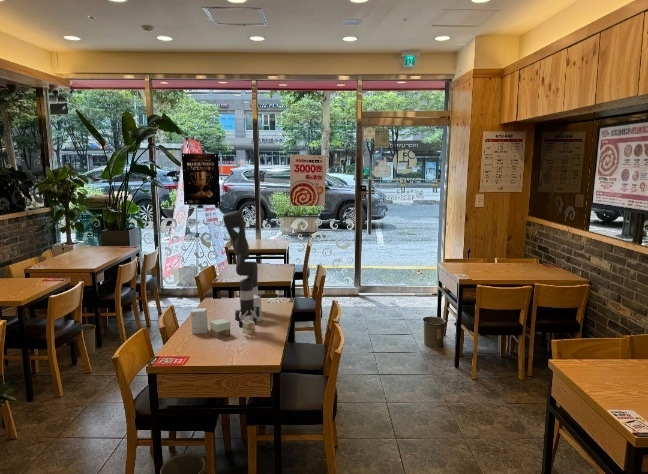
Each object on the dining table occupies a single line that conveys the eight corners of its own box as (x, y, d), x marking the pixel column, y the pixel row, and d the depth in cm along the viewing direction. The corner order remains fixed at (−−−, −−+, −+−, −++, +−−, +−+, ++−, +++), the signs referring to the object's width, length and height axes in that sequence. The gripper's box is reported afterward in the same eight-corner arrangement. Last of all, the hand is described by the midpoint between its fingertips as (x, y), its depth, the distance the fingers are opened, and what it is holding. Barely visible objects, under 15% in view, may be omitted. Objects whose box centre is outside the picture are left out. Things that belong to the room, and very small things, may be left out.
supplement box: (262, 320, 277) (261, 296, 275) (249, 323, 271) (248, 299, 269) (255, 317, 284) (254, 294, 282) (242, 320, 278) (241, 296, 277)
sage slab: (223, 325, 257) (223, 318, 257) (230, 328, 251) (230, 321, 251) (210, 328, 252) (210, 321, 252) (217, 332, 246) (216, 324, 245)
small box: (207, 329, 262) (206, 307, 260) (206, 333, 256) (205, 310, 254) (193, 330, 260) (192, 308, 259) (192, 334, 254) (190, 311, 253)
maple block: (250, 330, 259) (250, 320, 258) (255, 332, 255) (254, 322, 254) (242, 332, 256) (242, 322, 255) (247, 334, 252) (246, 324, 251)
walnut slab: (223, 332, 258) (223, 325, 257) (230, 335, 252) (230, 328, 251) (210, 335, 253) (210, 328, 252) (217, 339, 247) (216, 331, 246)
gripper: (254, 294, 260) (255, 322, 262) (232, 298, 251) (233, 327, 253) (261, 296, 255) (262, 325, 256) (238, 301, 246) (239, 330, 247)
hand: (247, 326), depth 255 cm, fingers open, 8 cm apart
